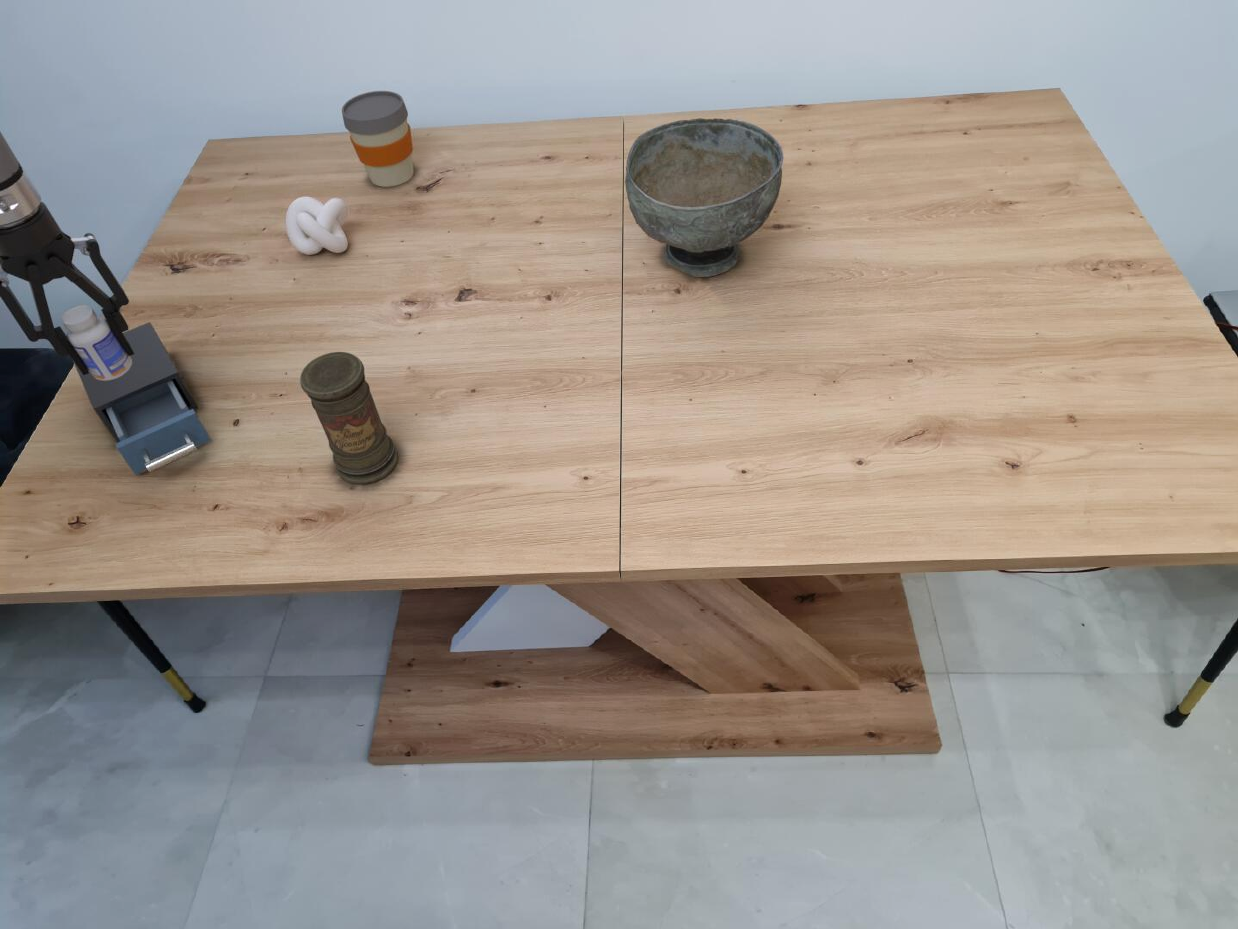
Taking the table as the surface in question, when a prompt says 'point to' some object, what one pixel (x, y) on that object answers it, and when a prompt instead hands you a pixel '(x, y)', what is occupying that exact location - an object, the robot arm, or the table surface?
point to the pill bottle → (96, 343)
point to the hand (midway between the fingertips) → (106, 359)
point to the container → (349, 417)
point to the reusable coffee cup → (381, 136)
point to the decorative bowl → (703, 189)
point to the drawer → (156, 428)
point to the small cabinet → (136, 375)
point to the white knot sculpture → (317, 225)
